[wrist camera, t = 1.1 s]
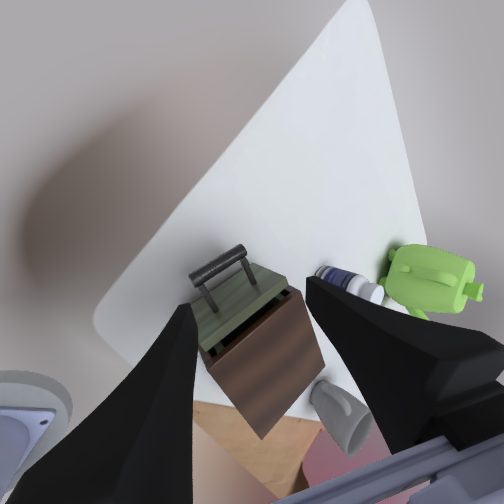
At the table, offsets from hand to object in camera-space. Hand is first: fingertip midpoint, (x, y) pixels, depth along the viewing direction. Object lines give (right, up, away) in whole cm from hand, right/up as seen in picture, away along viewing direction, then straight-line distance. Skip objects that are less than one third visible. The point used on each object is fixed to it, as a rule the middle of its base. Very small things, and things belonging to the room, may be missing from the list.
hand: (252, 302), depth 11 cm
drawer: (-3, -4, +14) cm, 14 cm away
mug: (+15, -28, +30) cm, 43 cm away
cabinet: (-1, -8, +16) cm, 18 cm away
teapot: (+39, -5, +41) cm, 57 cm away
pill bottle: (+13, -2, +24) cm, 28 cm away
